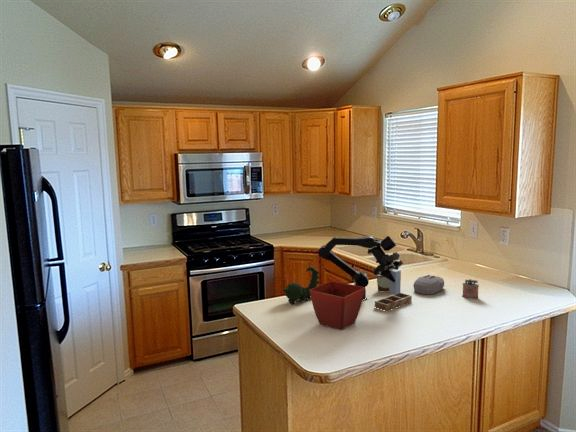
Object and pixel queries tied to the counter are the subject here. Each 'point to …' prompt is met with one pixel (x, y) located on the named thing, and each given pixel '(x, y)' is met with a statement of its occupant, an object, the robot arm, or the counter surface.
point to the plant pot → (337, 303)
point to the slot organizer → (393, 301)
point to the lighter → (470, 289)
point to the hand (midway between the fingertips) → (397, 281)
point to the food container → (382, 283)
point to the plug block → (395, 286)
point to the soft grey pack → (428, 284)
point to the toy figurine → (301, 288)
